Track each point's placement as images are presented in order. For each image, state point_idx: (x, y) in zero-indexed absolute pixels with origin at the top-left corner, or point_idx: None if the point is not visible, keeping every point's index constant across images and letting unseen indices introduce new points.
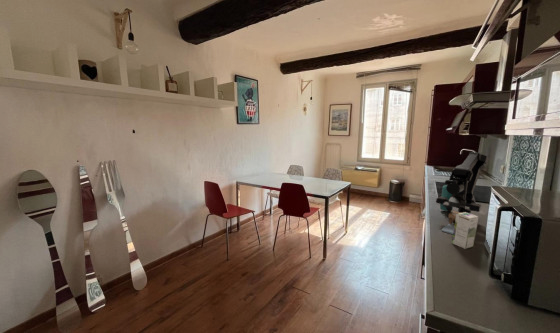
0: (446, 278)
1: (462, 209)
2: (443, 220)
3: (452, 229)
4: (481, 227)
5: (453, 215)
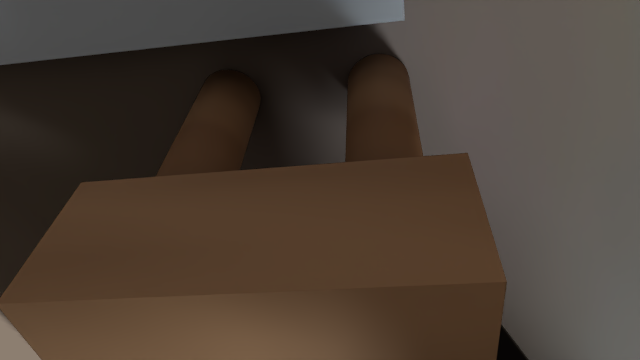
0: None
1: None
2: (563, 215)
3: None
4: None
5: (272, 276)
